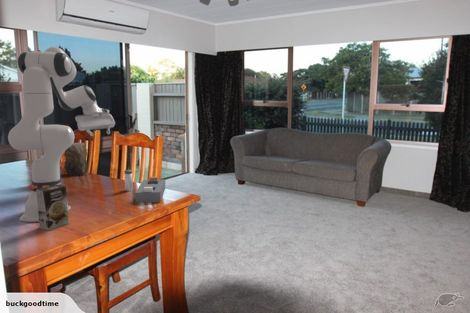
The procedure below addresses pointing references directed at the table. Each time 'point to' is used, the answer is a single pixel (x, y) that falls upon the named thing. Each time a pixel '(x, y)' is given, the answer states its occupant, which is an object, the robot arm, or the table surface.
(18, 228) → the table surface
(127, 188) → the plug
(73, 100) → the robot arm
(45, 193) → the coffee box
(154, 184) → the socket block
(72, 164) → the owl
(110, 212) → the table surface
